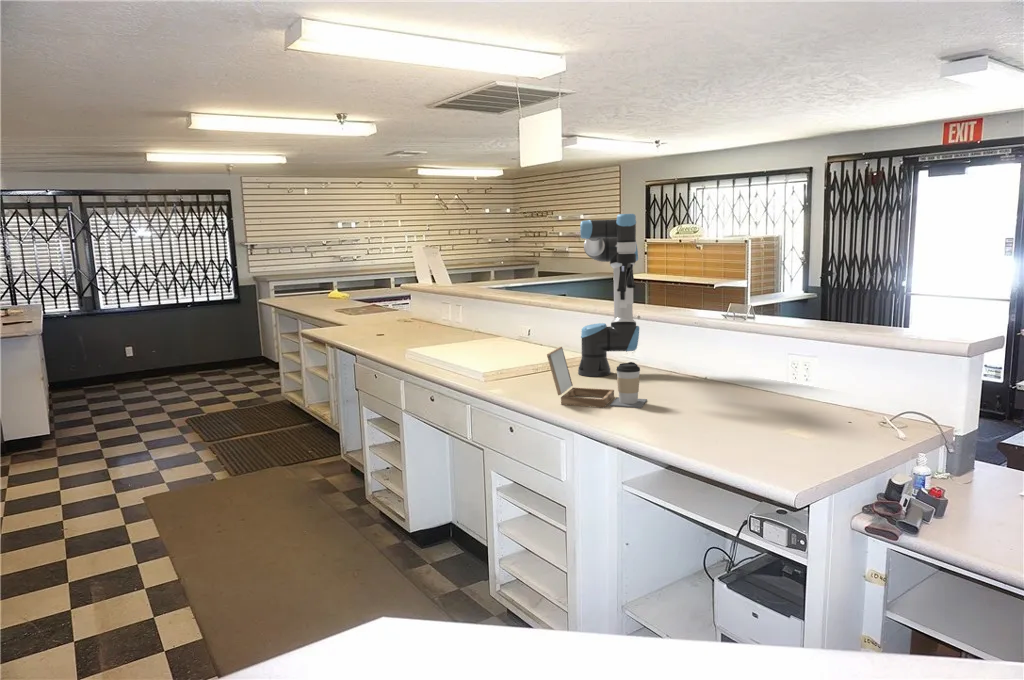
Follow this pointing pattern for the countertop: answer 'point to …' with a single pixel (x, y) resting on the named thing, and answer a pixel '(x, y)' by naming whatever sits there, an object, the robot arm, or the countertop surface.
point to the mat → (635, 405)
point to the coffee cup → (628, 382)
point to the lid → (559, 370)
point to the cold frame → (575, 401)
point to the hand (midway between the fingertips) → (626, 305)
